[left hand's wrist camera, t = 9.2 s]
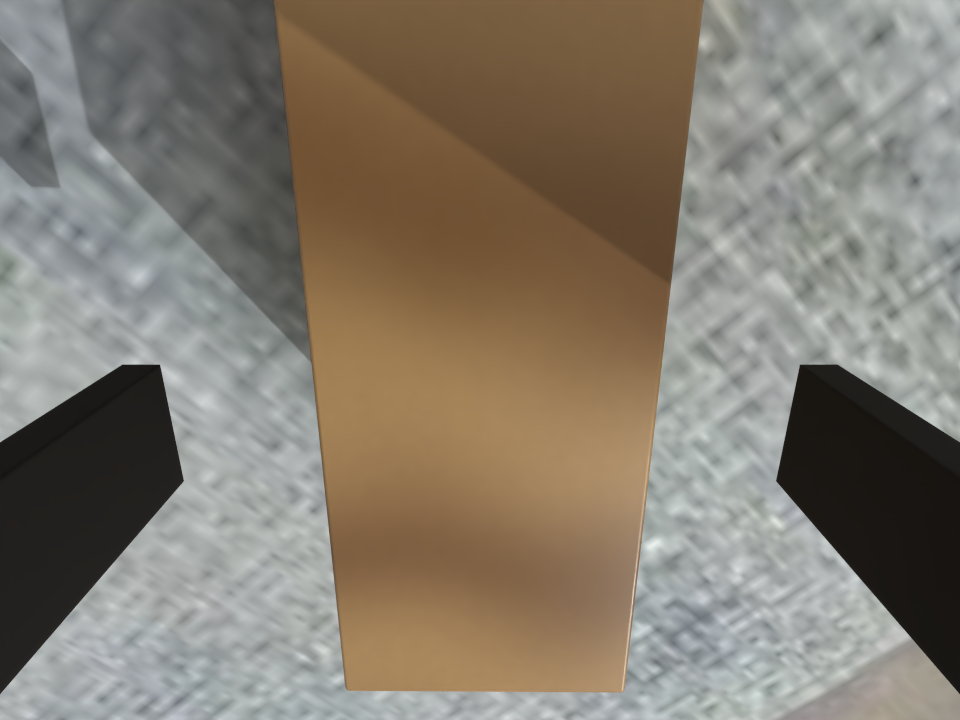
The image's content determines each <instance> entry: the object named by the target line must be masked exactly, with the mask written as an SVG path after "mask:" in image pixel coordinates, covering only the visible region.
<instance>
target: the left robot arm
mask: <svg viewBox="0 0 960 720" xmlns="http://www.w3.org/2000/svg"><path fill="white" fill-rule="evenodd" d="M183 481H184V480H183V475H182V470H181V465H180V460H179V455H178V451H177V446H176V441H175V436H174V431H173V426H172V421H171V416H170V412H169V407H168V402H167V397H166V392H165V387H164V382H163V377H162V372H161V368H160V365H121V366H120V367H118V368H117V369H115V370H113V371H112V372H110V373H109V374H107V375H106V376H104V377H102V378H101V379H99V380H98V381H96V382H95V383H93V384H91V385H90V386H88V387H87V388H85V389H84V390H82V391H80V392H79V393H77V394H76V395H74V396H73V397H71V398H69V399H68V400H66V401H65V402H63V403H62V404H60V405H58V406H57V407H55V408H54V409H52V410H50V411H49V412H47V413H46V414H44V415H43V416H41V417H39V418H38V419H36V420H35V421H33V422H32V423H30V424H28V425H27V426H25V427H24V428H22V429H21V430H19V431H17V432H16V433H14V434H13V435H11V436H10V437H8V438H6V439H5V440H3V441H2V442H0V694H1V692H2V691H3V690H4V689H5V688H6V687H7V685H8V684H9V683H10V682H11V681H12V680H13V679H14V677H15V676H16V675H17V674H18V673H19V672H20V670H21V669H22V668H23V667H24V666H25V665H26V663H27V662H28V661H29V660H30V659H31V658H32V656H33V655H34V654H35V653H36V652H37V651H38V650H39V648H40V647H41V646H42V645H43V644H44V643H45V641H46V640H47V639H48V638H49V637H50V636H51V634H52V633H53V632H54V631H55V630H56V629H57V627H58V626H59V625H60V624H61V623H62V622H63V621H64V619H65V618H66V617H67V616H68V615H69V614H70V612H71V611H72V610H73V609H74V608H75V607H76V605H77V604H78V603H79V602H80V601H81V600H82V598H83V597H84V596H85V595H86V594H87V593H88V592H89V590H90V589H91V588H92V587H93V586H94V585H95V583H96V582H97V581H98V580H99V579H100V578H101V576H102V575H103V574H104V573H105V572H106V571H107V570H108V568H109V567H110V566H111V565H112V564H113V563H114V561H115V560H116V559H117V558H118V557H119V556H120V554H121V553H122V552H123V551H124V550H125V549H126V547H127V546H128V545H129V544H130V543H131V542H132V541H133V539H134V538H135V537H136V536H137V535H138V534H139V532H140V531H141V530H142V529H143V528H144V527H145V525H146V524H147V523H148V522H149V521H150V520H151V518H152V517H153V516H154V515H155V514H156V513H157V512H158V510H159V509H160V508H161V507H162V506H163V505H164V503H165V502H166V501H167V500H168V499H169V498H170V496H171V495H172V494H173V493H174V492H175V491H176V489H177V488H178V487H179V486H180V485H181V484H182V483H183ZM776 481H777V483H778V484H779V485H780V486H781V487H782V488H783V490H784V491H785V492H786V493H787V494H788V495H789V496H790V498H791V499H792V500H793V501H794V502H795V503H796V505H797V506H798V507H799V508H800V509H801V510H802V512H803V513H804V514H805V515H806V516H807V517H808V518H809V520H810V521H811V522H812V523H813V524H814V525H815V527H816V528H817V529H818V530H819V531H820V532H821V534H822V535H823V536H824V537H825V538H826V539H827V541H828V542H829V543H830V544H831V545H832V546H833V547H834V549H835V550H836V551H837V552H838V553H839V554H840V556H841V557H842V558H843V559H844V560H845V561H846V563H847V564H848V565H849V566H850V567H851V568H852V570H853V571H854V572H855V573H856V574H857V575H858V576H859V578H860V579H861V580H862V581H863V582H864V583H865V585H866V586H867V587H868V588H869V589H870V590H871V592H872V593H873V594H874V595H875V596H876V597H877V598H878V600H879V601H880V602H881V603H882V604H883V605H884V607H885V608H886V609H887V610H888V611H889V612H890V614H891V615H892V616H893V617H894V618H895V619H896V621H897V622H898V623H899V624H900V625H901V626H902V627H903V629H904V630H905V631H906V632H907V633H908V634H909V636H910V637H911V638H912V639H913V640H914V641H915V643H916V644H917V645H918V646H919V647H920V648H921V650H922V651H923V652H924V653H925V654H926V655H927V656H928V658H929V659H930V660H931V661H932V662H933V663H934V665H935V666H936V667H937V668H938V669H939V670H940V672H941V673H942V674H943V675H944V676H945V677H946V679H947V680H948V681H949V682H950V683H951V684H952V685H953V687H954V688H955V689H956V690H957V691H958V692H959V694H960V442H958V441H957V440H955V439H954V438H952V437H950V436H949V435H947V434H946V433H944V432H943V431H941V430H939V429H938V428H936V427H935V426H933V425H932V424H930V423H928V422H927V421H925V420H924V419H922V418H921V417H919V416H917V415H916V414H914V413H913V412H911V411H910V410H908V409H906V408H905V407H903V406H902V405H900V404H898V403H897V402H895V401H894V400H892V399H891V398H889V397H887V396H886V395H884V394H883V393H881V392H880V391H878V390H876V389H875V388H873V387H872V386H870V385H869V384H867V383H865V382H864V381H862V380H861V379H859V378H858V377H856V376H854V375H853V374H851V373H850V372H848V371H847V370H845V369H843V368H842V367H840V366H839V365H800V368H799V372H798V377H797V382H796V387H795V392H794V397H793V402H792V407H791V412H790V416H789V421H788V426H787V431H786V436H785V441H784V446H783V451H782V455H781V460H780V465H779V470H778V475H777V480H776Z"/></svg>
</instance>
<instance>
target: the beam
mask: <svg viewBox="0 0 960 720" xmlns="http://www.w3.org/2000/svg"><path fill="white" fill-rule="evenodd" d="M274 9H275V18H276V28H277V37H278V47H279V56H280V66H281V76H282V85H283V95H284V104H285V114H286V123H287V133H288V142H289V152H290V162H291V171H292V181H293V190H294V200H295V209H296V219H297V228H298V238H299V248H300V257H301V267H302V276H303V286H304V295H305V305H306V314H307V324H308V334H309V343H310V353H311V362H312V372H313V381H314V391H315V401H316V410H317V420H318V429H319V439H320V448H321V458H322V467H323V477H324V487H325V496H326V506H327V515H328V525H329V534H330V544H331V553H332V563H333V573H334V582H335V592H336V601H337V611H338V620H339V630H340V639H341V649H342V659H343V668H344V678H345V687H346V689H347V690H348V691H489V692H623V691H624V688H625V680H626V671H627V662H628V654H629V645H630V636H631V627H632V619H633V610H634V601H635V593H636V584H637V575H638V567H639V558H640V549H641V540H642V532H643V523H644V514H645V506H646V497H647V488H648V479H649V471H650V462H651V453H652V445H653V436H654V427H655V418H656V410H657V401H658V392H659V384H660V375H661V366H662V357H663V349H664V340H665V331H666V323H667V314H668V305H669V297H670V288H671V279H672V270H673V262H674V253H675V244H676V236H677V227H678V218H679V209H680V201H681V192H682V183H683V175H684V166H685V157H686V148H687V140H688V131H689V122H690V114H691V105H692V96H693V88H694V79H695V70H696V61H697V53H698V44H699V35H700V27H701V18H702V9H703V0H274Z"/></svg>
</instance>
